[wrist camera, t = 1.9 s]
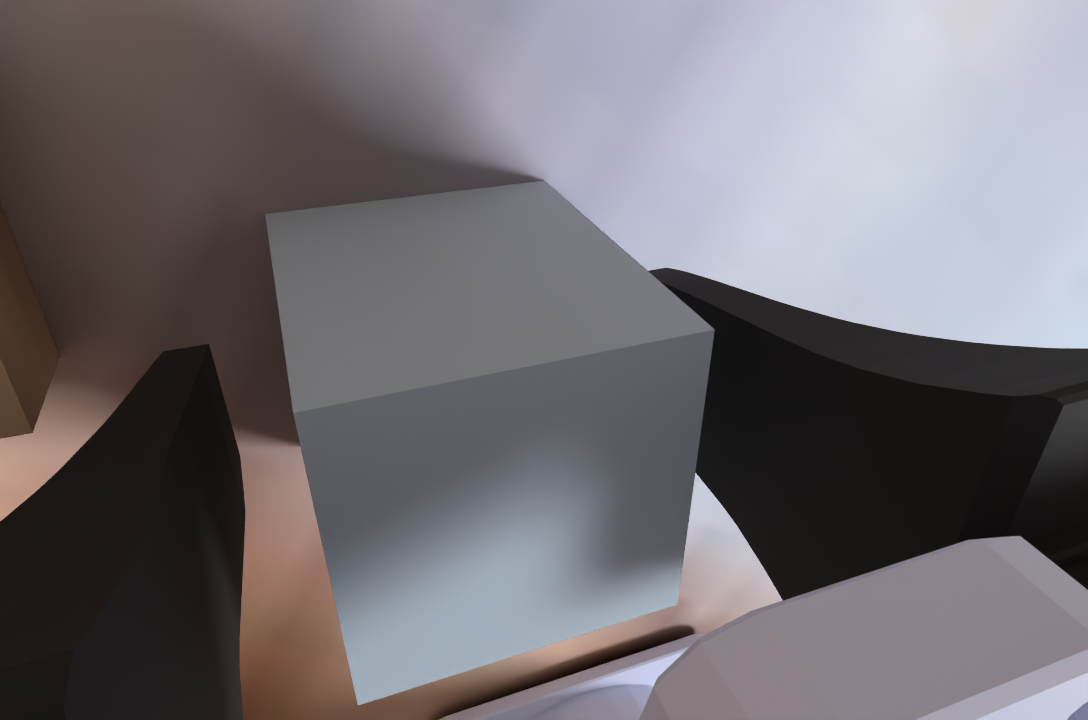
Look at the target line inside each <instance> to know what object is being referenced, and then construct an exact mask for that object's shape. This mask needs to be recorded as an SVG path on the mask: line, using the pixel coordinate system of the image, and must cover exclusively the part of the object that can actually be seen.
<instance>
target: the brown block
mask: <svg viewBox="0 0 1088 720" xmlns="http://www.w3.org/2000/svg"><path fill="white" fill-rule="evenodd" d="M58 359H59V353H58V351H57V348H56V346H55V343H54V340H53V338H52V335H51V333H50V330H49V328H48V325H47V322H46V320H45V317H44V315H43V312H42V309H41V307H40V304H39V302H38V299H37V296H36V294H35V291H34V289H33V286H32V283H31V281H30V278H29V276H28V273H27V271H26V268H25V265H24V263H23V260H22V258H21V255H20V252H19V250H18V247H17V245H16V242H15V239H14V237H13V234H12V232H11V229H10V226H9V224H8V221H7V219H6V216H5V214H4V211H3V208H2V206H1V203H0V439H1V438H6V437H12V436H17V435H23V434H29V433H33V430H34V427H35V425H36V422H37V419H38V416H39V413H40V410H41V407H42V405H43V402H44V399H45V396H46V393H47V390H48V388H49V385H50V382H51V379H52V376H53V373H54V370H55V368H56V365H57V362H58Z"/></svg>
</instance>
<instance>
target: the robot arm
mask: <svg viewBox="0 0 1088 720" xmlns="http://www.w3.org/2000/svg"><path fill="white" fill-rule="evenodd" d="M648 272H649V273H651V274H652V275H653V276H654V277H655V278H656V279H657V280H659V281H660V282H661V283H662V284H663V285H664V286H665V287H667V288H668V289H669V290H670V291H671V292H672V293H673V294H675V295H676V296H677V297H678V298H679V299H680V300H681V301H683V302H684V303H685V304H686V305H687V306H688V307H690V308H691V309H692V310H693V311H694V312H695V313H696V314H698V315H699V316H700V317H701V318H702V319H703V320H704V321H706V322H707V323H708V324H709V325H710V326H711V327H712V328H714V329H715V331H714V338H713V346H712V353H711V360H710V368H709V375H708V382H707V390H706V397H705V404H704V412H703V419H702V426H701V434H700V441H699V448H698V456H697V463H696V470H695V472H696V473H697V475H698V476H699V477H700V478H701V480H702V481H703V482H704V483H705V485H706V486H707V487H708V488H709V489H710V491H711V492H712V493H713V494H714V496H715V497H716V498H717V499H718V501H719V502H720V503H721V504H722V506H723V507H724V508H725V510H726V511H727V512H728V514H729V515H730V517H731V518H732V519H733V521H734V522H735V523H736V525H737V526H738V528H739V529H740V531H741V532H742V534H743V536H744V537H745V539H746V540H747V542H748V543H749V545H750V547H751V548H752V550H753V551H754V553H755V555H756V556H757V558H758V559H759V561H760V562H761V564H762V566H763V567H764V569H765V570H766V572H767V574H768V576H769V577H770V579H771V581H772V582H773V584H774V586H775V587H776V589H777V591H778V593H779V594H780V596H781V598H782V599H783V601H781V602H777V603H774V604H771V605H768V606H765V607H762V608H759V609H756V610H753V611H750V612H749V613H747V614H745V615H743V616H741V617H739V618H737V619H735V620H733V621H731V622H729V623H727V624H725V625H723V626H721V627H719V628H717V629H716V630H714V631H712V632H710V633H708V634H706V635H705V634H699V633H698V634H693V635H690V636H687V637H684V638H681V639H678V640H675V641H672V642H668V643H665V644H662V645H659V646H656V647H653V648H650V649H647V650H644V651H641V652H638V653H635V654H632V655H629V656H626V657H623V658H620V659H617V660H614V661H611V662H608V663H605V664H602V665H599V666H596V667H593V668H590V669H587V670H584V671H581V672H578V673H575V674H572V675H569V676H566V677H563V678H560V679H557V680H554V681H550V682H547V683H544V684H541V685H538V686H535V687H532V688H529V689H526V690H523V691H520V692H517V693H514V694H511V695H508V696H505V697H502V698H499V699H496V700H493V701H490V702H487V703H484V704H481V705H478V706H475V707H472V708H469V709H466V710H463V711H460V712H457V713H454V714H451V715H448V716H445V717H443V718H441V719H439V720H1088V349H1061V348H1037V347H1022V346H1006V345H993V344H983V343H972V342H963V341H956V340H948V339H941V338H934V337H926V336H919V335H913V334H907V333H901V332H896V331H891V330H886V329H881V328H876V327H872V326H867V325H862V324H857V323H853V322H849V321H845V320H841V319H837V318H833V317H829V316H826V315H822V314H818V313H815V312H811V311H808V310H804V309H801V308H797V307H794V306H791V305H788V304H784V303H781V302H778V301H775V300H772V299H769V298H765V297H762V296H759V295H756V294H753V293H750V292H747V291H744V290H741V289H738V288H735V287H732V286H729V285H726V284H723V283H720V282H717V281H714V280H711V279H708V278H705V277H702V276H698V275H695V274H692V273H688V272H684V271H680V270H676V269H670V268H662V269H656V270H650V271H648ZM244 532H245V502H244V491H243V480H242V471H241V461H240V454H239V450H238V447H237V443H236V440H235V436H234V432H233V429H232V425H231V422H230V418H229V414H228V411H227V407H226V404H225V400H224V397H223V393H222V389H221V386H220V382H219V379H218V375H217V372H216V368H215V364H214V361H213V357H212V354H211V350H210V346H209V344H206V345H200V346H194V347H188V348H182V349H176V350H170V351H164V352H162V354H161V355H160V356H159V357H158V358H157V359H156V361H155V362H154V363H153V364H152V366H151V367H150V368H149V369H148V371H147V372H146V373H145V374H144V375H143V377H142V378H141V379H140V380H139V382H138V383H137V384H136V385H135V387H134V388H133V389H132V390H131V392H130V393H129V394H128V395H127V397H126V398H125V399H124V400H123V402H122V403H121V404H120V405H119V406H118V408H117V409H116V410H115V411H114V412H113V413H112V415H111V416H110V417H109V418H108V419H107V420H106V422H105V423H104V424H103V425H102V426H101V427H100V428H99V429H98V430H97V431H96V432H95V434H94V435H93V436H92V437H91V438H90V439H89V440H88V441H87V442H86V443H85V444H84V445H83V446H82V447H81V448H80V449H79V450H78V451H77V452H76V453H75V454H74V455H73V456H72V458H71V459H70V460H69V461H68V462H67V463H66V464H65V465H64V466H63V467H62V468H61V469H60V470H59V471H58V472H57V473H56V474H55V475H54V476H53V477H52V478H50V479H49V480H48V481H47V482H46V483H45V484H44V485H43V486H42V487H41V488H39V489H38V490H37V491H36V492H35V493H34V494H33V495H32V496H30V497H29V498H28V499H27V500H26V501H24V502H23V503H22V504H21V505H20V506H19V507H17V508H16V509H15V510H14V511H13V512H11V513H10V514H9V515H8V516H7V517H5V518H4V519H3V520H2V521H0V720H243V714H242V699H241V685H240V669H239V637H240V616H241V596H242V576H243V555H244Z"/></svg>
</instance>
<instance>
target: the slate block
mask: <svg viewBox="0 0 1088 720" xmlns="http://www.w3.org/2000/svg"><path fill="white" fill-rule="evenodd" d="M265 218H266V225H267V232H268V239H269V246H270V253H271V260H272V267H273V274H274V281H275V288H276V295H277V302H278V309H279V317H280V324H281V331H282V338H283V345H284V352H285V359H286V366H287V373H288V380H289V387H290V394H291V401H292V408H293V414H294V419H295V424H296V428H297V433H298V437H299V442H300V446H301V451H302V455H303V460H304V464H305V469H306V473H307V478H308V482H309V487H310V491H311V496H312V500H313V505H314V509H315V514H316V519H317V523H318V528H319V532H320V537H321V541H322V546H323V550H324V555H325V559H326V564H327V568H328V573H329V577H330V582H331V586H332V591H333V595H334V600H335V604H336V609H337V613H338V618H339V623H340V627H341V632H342V636H343V641H344V645H345V650H346V654H347V659H348V663H349V668H350V672H351V677H352V681H353V686H354V690H355V695H356V699H357V704H358V705H361V704H364V703H368V702H371V701H374V700H377V699H380V698H383V697H387V696H390V695H393V694H396V693H399V692H402V691H405V690H409V689H412V688H415V687H418V686H421V685H424V684H428V683H431V682H434V681H437V680H440V679H443V678H447V677H450V676H453V675H456V674H459V673H462V672H466V671H469V670H472V669H475V668H478V667H481V666H484V665H488V664H491V663H494V662H497V661H500V660H503V659H507V658H510V657H513V656H516V655H519V654H522V653H526V652H529V651H532V650H535V649H538V648H541V647H545V646H548V645H551V644H554V643H557V642H560V641H563V640H567V639H570V638H573V637H576V636H579V635H582V634H586V633H589V632H592V631H595V630H598V629H601V628H605V627H608V626H611V625H614V624H617V623H620V622H624V621H627V620H630V619H633V618H636V617H639V616H642V615H646V614H649V613H652V612H655V611H658V610H661V609H665V608H668V607H671V606H674V605H677V602H678V595H679V588H680V580H681V573H682V566H683V558H684V551H685V544H686V536H687V529H688V522H689V514H690V507H691V500H692V492H693V485H694V478H695V470H696V463H697V456H698V448H699V441H700V434H701V426H702V419H703V412H704V404H705V397H706V390H707V382H708V375H709V368H710V360H711V353H712V346H713V338H714V331H715V329H714V328H712V327H711V326H710V325H709V324H708V323H707V322H706V321H704V320H703V319H702V318H701V317H700V316H699V315H698V314H696V313H695V312H694V311H693V310H692V309H691V308H690V307H688V306H687V305H686V304H685V303H684V302H683V301H681V300H680V299H679V298H678V297H677V296H676V295H675V294H673V293H672V292H671V291H670V290H669V289H668V288H667V287H665V286H664V285H663V284H662V283H661V282H660V281H659V280H657V279H656V278H655V277H654V276H653V275H652V274H651V273H649V272H648V271H647V270H646V269H645V268H644V267H643V266H641V265H640V264H639V263H638V262H637V261H636V260H635V259H633V258H632V257H631V256H630V255H629V254H628V253H627V252H625V251H624V250H623V249H622V248H621V247H620V246H619V245H617V244H616V243H615V242H614V241H613V240H612V239H611V238H609V237H608V236H607V235H606V234H605V233H604V232H603V231H601V230H600V229H599V228H598V227H597V226H596V225H595V224H593V223H592V222H591V221H590V220H589V219H588V218H587V217H585V216H584V215H583V214H582V213H581V212H580V211H579V210H577V209H576V208H575V207H574V206H573V205H572V204H571V203H569V202H568V201H567V200H566V199H565V198H564V197H563V196H561V195H560V194H559V193H558V192H557V191H556V190H555V189H553V188H552V187H551V186H550V185H549V184H548V183H547V182H545V181H544V180H542V181H534V182H526V183H517V184H509V185H501V186H493V187H484V188H476V189H468V190H459V191H451V192H443V193H434V194H426V195H418V196H409V197H401V198H393V199H385V200H376V201H368V202H360V203H351V204H343V205H335V206H326V207H318V208H310V209H301V210H293V211H285V212H277V213H268V214H265Z"/></svg>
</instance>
